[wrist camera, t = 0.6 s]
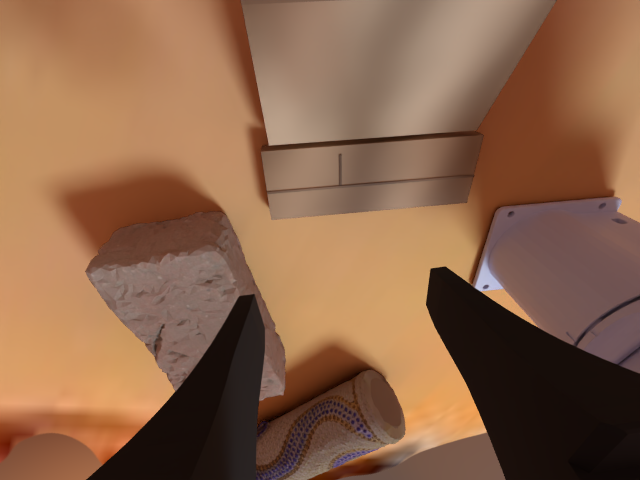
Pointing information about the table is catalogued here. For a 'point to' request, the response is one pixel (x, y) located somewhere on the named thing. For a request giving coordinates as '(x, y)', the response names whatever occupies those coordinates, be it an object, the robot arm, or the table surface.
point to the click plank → (383, 64)
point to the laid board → (369, 173)
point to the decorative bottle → (330, 430)
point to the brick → (182, 291)
